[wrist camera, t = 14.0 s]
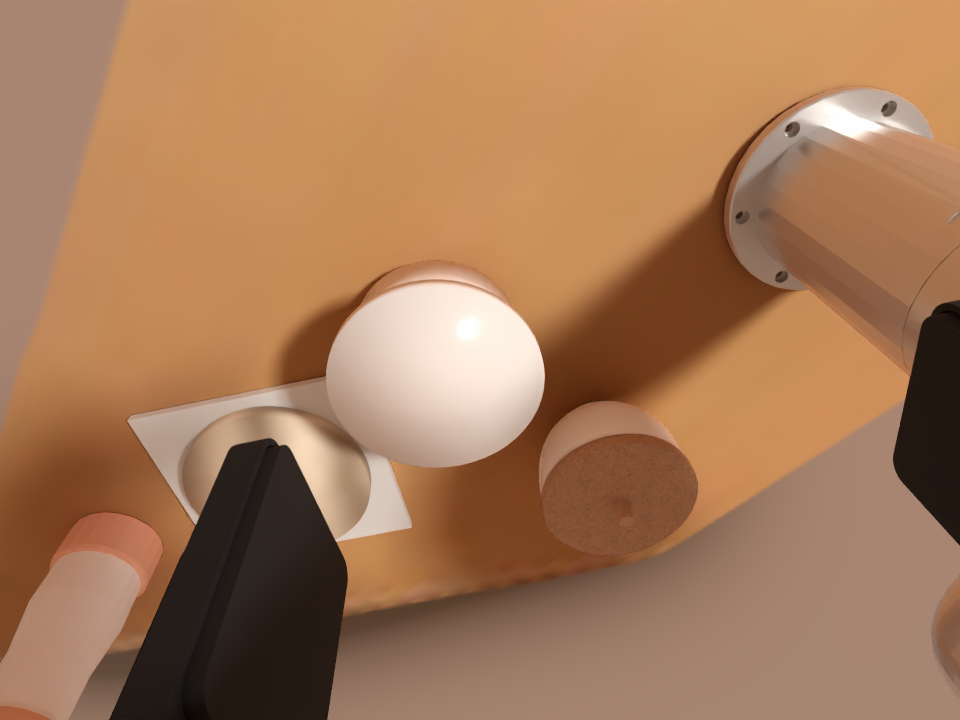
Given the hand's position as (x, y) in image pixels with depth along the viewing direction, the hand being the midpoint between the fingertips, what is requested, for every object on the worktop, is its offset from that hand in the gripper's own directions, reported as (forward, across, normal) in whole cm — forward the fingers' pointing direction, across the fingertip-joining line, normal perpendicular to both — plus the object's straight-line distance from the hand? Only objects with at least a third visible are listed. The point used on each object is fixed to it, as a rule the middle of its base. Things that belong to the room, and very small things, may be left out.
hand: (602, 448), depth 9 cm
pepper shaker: (+31, +37, +28) cm, 55 cm away
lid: (+30, +21, +24) cm, 43 cm away
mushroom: (+30, +6, +14) cm, 34 cm away
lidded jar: (+31, -4, +26) cm, 40 cm away
